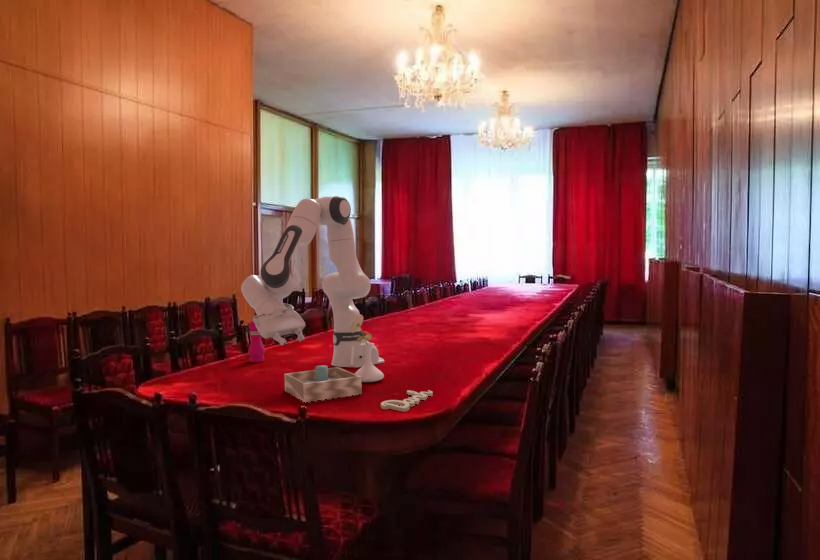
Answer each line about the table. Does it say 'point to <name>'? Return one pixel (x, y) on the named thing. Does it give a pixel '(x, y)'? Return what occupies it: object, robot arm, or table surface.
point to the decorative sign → (406, 401)
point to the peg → (321, 373)
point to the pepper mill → (255, 345)
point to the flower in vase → (366, 355)
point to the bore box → (323, 385)
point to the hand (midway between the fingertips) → (293, 341)
